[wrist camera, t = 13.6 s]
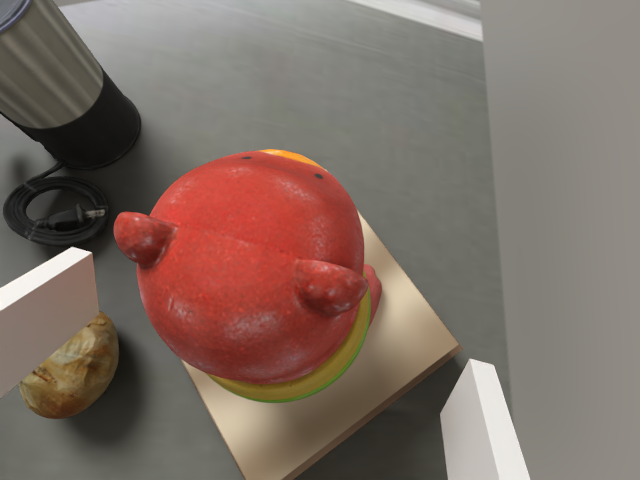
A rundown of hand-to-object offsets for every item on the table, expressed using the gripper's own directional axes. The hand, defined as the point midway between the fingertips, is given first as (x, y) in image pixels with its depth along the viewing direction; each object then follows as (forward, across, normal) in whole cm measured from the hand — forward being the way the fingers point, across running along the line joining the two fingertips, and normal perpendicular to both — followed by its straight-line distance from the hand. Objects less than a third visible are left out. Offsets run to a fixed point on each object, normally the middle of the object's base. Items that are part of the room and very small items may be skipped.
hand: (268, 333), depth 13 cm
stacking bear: (+11, -1, -8) cm, 13 cm away
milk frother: (+21, -24, -6) cm, 33 cm away
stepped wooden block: (+15, 0, -12) cm, 19 cm away
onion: (+10, -16, -17) cm, 26 cm away
